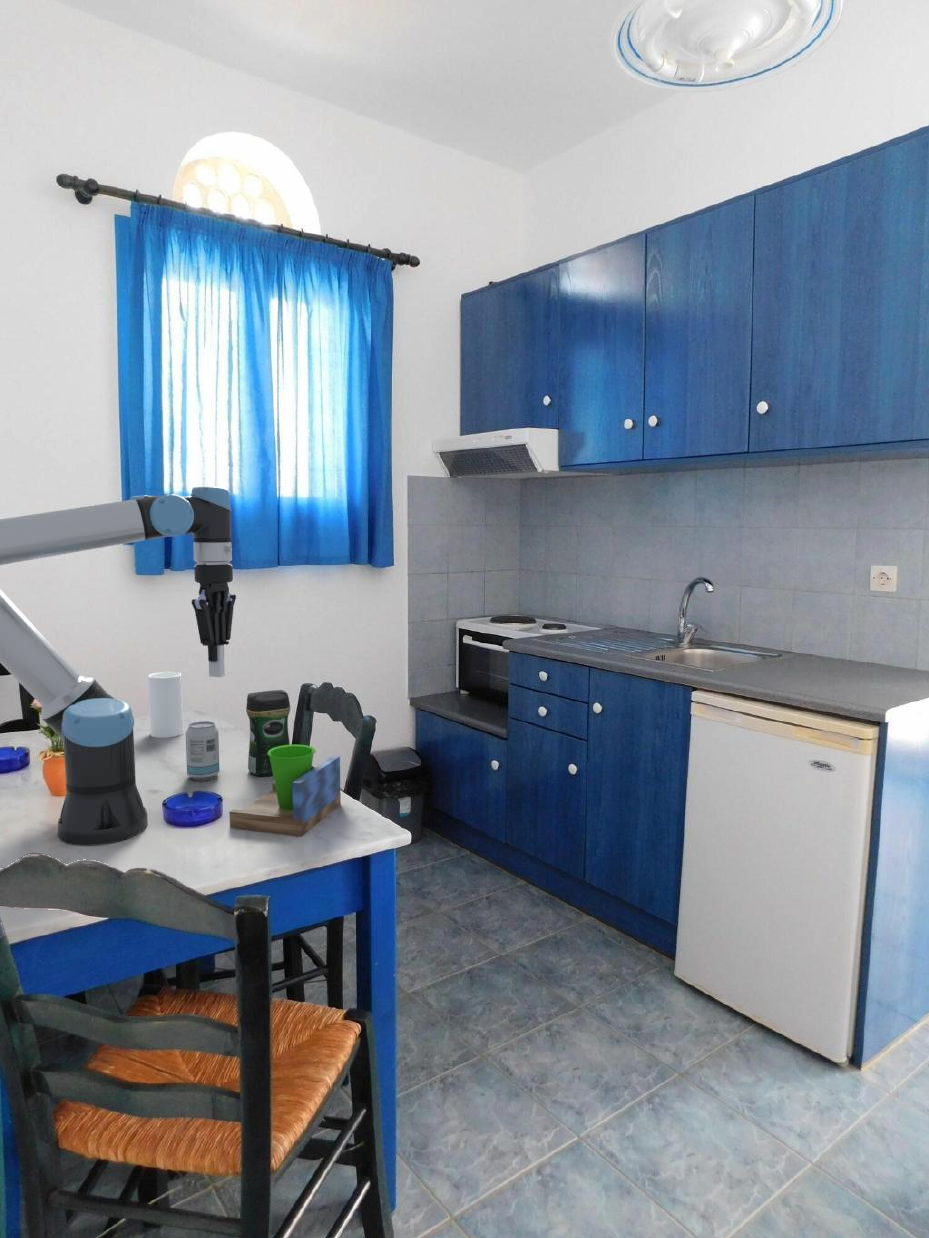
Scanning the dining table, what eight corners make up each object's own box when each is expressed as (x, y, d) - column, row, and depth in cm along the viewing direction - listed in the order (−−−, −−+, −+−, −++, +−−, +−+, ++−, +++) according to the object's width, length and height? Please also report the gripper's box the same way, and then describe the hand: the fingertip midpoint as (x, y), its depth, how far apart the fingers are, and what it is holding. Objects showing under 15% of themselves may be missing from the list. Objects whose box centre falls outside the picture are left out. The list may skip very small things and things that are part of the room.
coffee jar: (285, 763, 190) (283, 685, 187) (296, 772, 183) (294, 692, 180) (244, 769, 185) (241, 690, 182) (253, 779, 178) (251, 696, 176)
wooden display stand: (301, 836, 146) (300, 783, 145) (230, 827, 150) (228, 775, 149) (340, 804, 163) (339, 756, 162) (275, 797, 167) (274, 750, 165)
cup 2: (311, 815, 151) (310, 758, 150) (263, 814, 151) (261, 757, 150) (320, 798, 160) (319, 744, 159) (275, 797, 160) (273, 744, 159)
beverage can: (218, 770, 184) (217, 719, 182) (220, 780, 177) (218, 726, 176) (186, 773, 181) (184, 721, 180) (187, 783, 175) (185, 729, 173)
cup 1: (178, 728, 221) (176, 670, 219) (187, 734, 214) (185, 675, 212) (147, 732, 216) (144, 673, 214) (154, 739, 209) (152, 678, 207)
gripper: (211, 565, 158) (215, 683, 161) (246, 562, 171) (249, 671, 174) (178, 564, 160) (182, 681, 163) (215, 561, 173) (218, 669, 176)
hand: (216, 676), depth 168 cm, fingers closed
